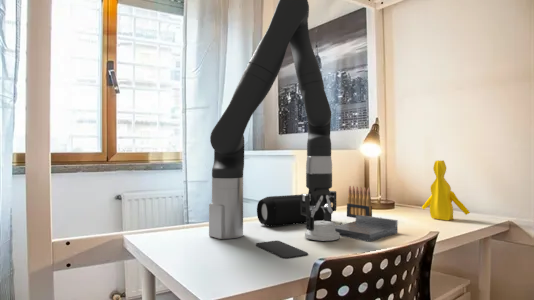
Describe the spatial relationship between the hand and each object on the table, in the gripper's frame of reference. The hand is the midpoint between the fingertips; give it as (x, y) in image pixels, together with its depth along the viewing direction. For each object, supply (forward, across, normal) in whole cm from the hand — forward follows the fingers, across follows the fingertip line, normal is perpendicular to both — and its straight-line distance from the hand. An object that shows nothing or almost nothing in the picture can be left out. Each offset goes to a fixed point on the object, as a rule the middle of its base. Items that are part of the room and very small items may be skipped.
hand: (319, 228), depth 107 cm
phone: (+3, +18, +2) cm, 18 cm away
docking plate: (+3, -14, +6) cm, 15 cm away
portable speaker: (+3, -11, -20) cm, 23 cm away
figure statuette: (+3, -57, +13) cm, 59 cm away
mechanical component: (+3, 0, +1) cm, 3 cm away
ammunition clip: (+3, -37, -10) cm, 38 cm away
